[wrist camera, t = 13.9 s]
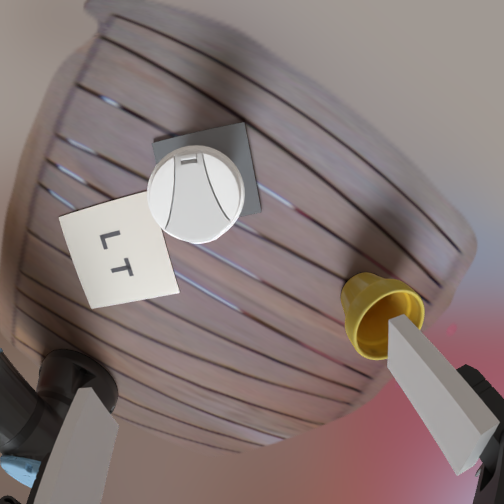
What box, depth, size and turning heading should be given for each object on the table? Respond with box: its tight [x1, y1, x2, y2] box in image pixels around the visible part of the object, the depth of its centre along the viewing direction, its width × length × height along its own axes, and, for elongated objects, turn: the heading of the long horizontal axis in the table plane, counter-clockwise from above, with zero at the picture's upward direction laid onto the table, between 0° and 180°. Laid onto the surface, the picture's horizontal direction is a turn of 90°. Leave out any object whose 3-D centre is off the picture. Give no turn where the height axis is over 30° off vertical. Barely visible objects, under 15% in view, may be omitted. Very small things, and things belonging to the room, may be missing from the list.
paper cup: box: [147, 145, 245, 244], centre depth 29 cm, size 8×8×14 cm
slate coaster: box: [152, 122, 261, 217], centre depth 36 cm, size 11×11×1 cm
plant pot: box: [341, 272, 425, 360], centre depth 39 cm, size 10×10×10 cm
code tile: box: [59, 191, 180, 309], centre depth 38 cm, size 14×14×1 cm
